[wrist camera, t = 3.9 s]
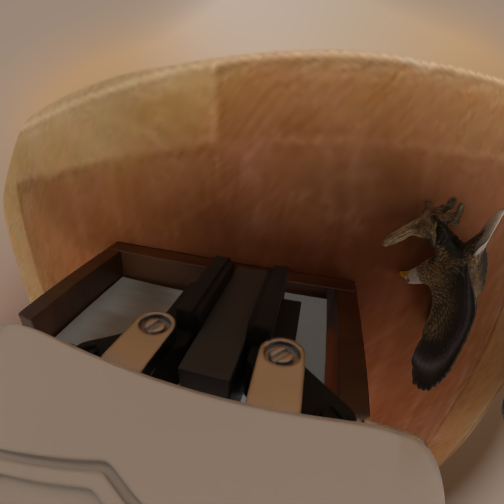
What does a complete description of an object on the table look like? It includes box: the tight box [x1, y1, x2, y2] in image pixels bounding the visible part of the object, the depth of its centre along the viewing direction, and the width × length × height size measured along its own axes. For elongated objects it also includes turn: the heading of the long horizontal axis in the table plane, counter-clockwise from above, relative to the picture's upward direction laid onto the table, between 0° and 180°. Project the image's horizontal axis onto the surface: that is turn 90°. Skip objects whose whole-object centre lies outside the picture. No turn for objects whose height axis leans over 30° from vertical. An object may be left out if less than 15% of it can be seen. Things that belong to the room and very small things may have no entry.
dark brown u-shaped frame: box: [19, 242, 370, 420], centre depth 14 cm, size 16×3×10 cm, turn 86°
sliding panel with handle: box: [178, 266, 327, 403], centre depth 12 cm, size 7×4×10 cm, turn 86°
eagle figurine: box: [381, 197, 504, 391], centre depth 13 cm, size 8×7×9 cm
